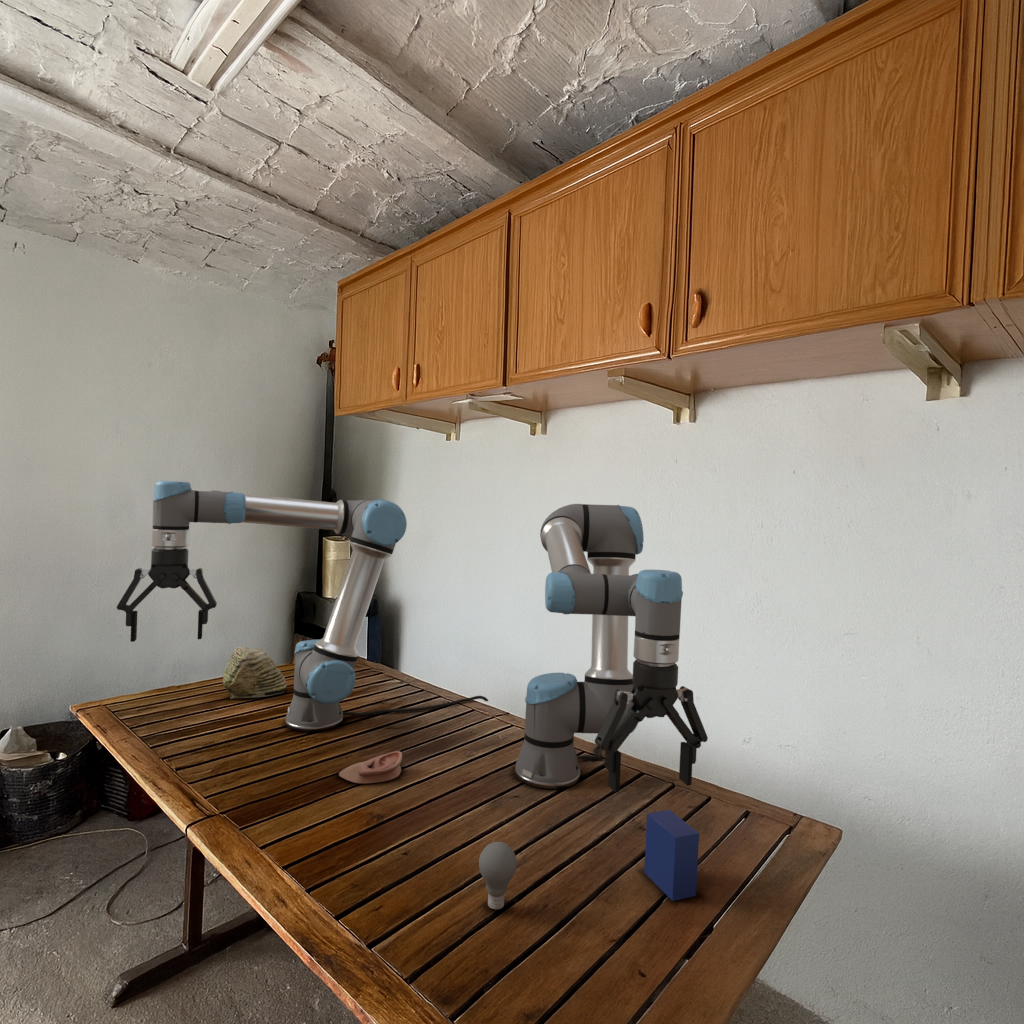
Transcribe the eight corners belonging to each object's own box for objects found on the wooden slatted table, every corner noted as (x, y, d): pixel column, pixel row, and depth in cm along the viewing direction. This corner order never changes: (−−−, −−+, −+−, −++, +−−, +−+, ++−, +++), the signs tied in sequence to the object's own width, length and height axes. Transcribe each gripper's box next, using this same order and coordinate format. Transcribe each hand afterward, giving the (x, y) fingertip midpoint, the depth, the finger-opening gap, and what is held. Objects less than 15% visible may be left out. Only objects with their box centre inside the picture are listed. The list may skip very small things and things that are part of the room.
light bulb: (476, 895, 103) (478, 834, 102) (513, 894, 103) (515, 834, 103) (477, 919, 97) (480, 854, 96) (516, 919, 97) (519, 854, 97)
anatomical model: (332, 762, 141) (355, 743, 152) (332, 780, 141) (355, 759, 153) (388, 770, 139) (407, 750, 150) (388, 788, 139) (407, 766, 150)
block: (643, 872, 111) (646, 813, 111) (666, 868, 113) (669, 809, 113) (672, 901, 104) (675, 837, 103) (696, 896, 105) (699, 833, 105)
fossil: (218, 695, 195) (220, 647, 195) (278, 685, 208) (279, 640, 207) (228, 703, 189) (230, 653, 188) (289, 692, 201) (290, 645, 201)
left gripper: (103, 548, 138) (100, 645, 139) (228, 549, 147) (225, 640, 148) (111, 545, 145) (108, 637, 146) (230, 547, 154) (227, 633, 155)
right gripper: (597, 669, 101) (591, 802, 101) (732, 664, 108) (726, 788, 108) (579, 658, 108) (573, 782, 108) (706, 654, 115) (701, 770, 115)
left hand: (167, 639), depth 147 cm, fingers open, 13 cm apart
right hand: (650, 785), depth 108 cm, fingers open, 13 cm apart
